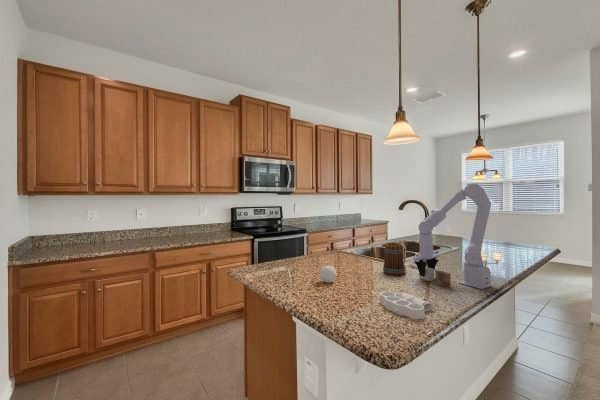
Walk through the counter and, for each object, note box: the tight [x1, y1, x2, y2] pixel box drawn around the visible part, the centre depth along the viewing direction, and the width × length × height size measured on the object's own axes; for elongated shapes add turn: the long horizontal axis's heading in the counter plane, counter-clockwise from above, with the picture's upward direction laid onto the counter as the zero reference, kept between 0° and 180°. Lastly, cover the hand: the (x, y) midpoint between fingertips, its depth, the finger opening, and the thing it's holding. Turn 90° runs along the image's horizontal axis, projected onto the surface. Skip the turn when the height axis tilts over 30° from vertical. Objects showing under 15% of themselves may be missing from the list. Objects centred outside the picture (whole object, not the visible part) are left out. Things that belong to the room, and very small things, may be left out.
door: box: [434, 266, 439, 278], centre depth 125 cm, size 12×2×4 cm, turn 159°
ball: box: [319, 265, 338, 284], centre depth 126 cm, size 8×8×8 cm
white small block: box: [418, 266, 435, 282], centre depth 128 cm, size 5×4×5 cm
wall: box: [435, 269, 452, 289], centre depth 116 cm, size 6×2×6 cm, turn 28°
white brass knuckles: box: [379, 291, 433, 320], centre depth 95 cm, size 3×18×15 cm
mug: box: [382, 241, 406, 277], centre depth 140 cm, size 16×11×15 cm
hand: (426, 274), depth 128 cm, fingers open, 6 cm apart
